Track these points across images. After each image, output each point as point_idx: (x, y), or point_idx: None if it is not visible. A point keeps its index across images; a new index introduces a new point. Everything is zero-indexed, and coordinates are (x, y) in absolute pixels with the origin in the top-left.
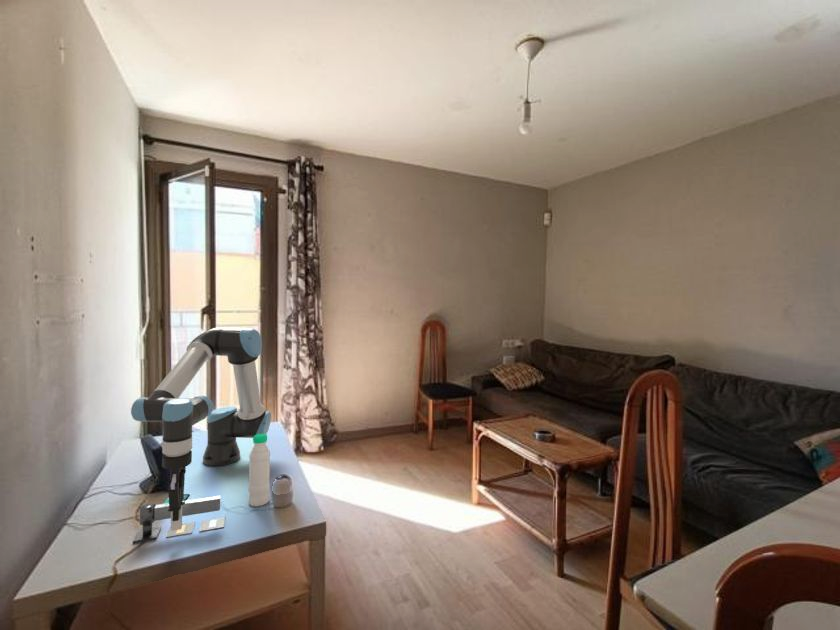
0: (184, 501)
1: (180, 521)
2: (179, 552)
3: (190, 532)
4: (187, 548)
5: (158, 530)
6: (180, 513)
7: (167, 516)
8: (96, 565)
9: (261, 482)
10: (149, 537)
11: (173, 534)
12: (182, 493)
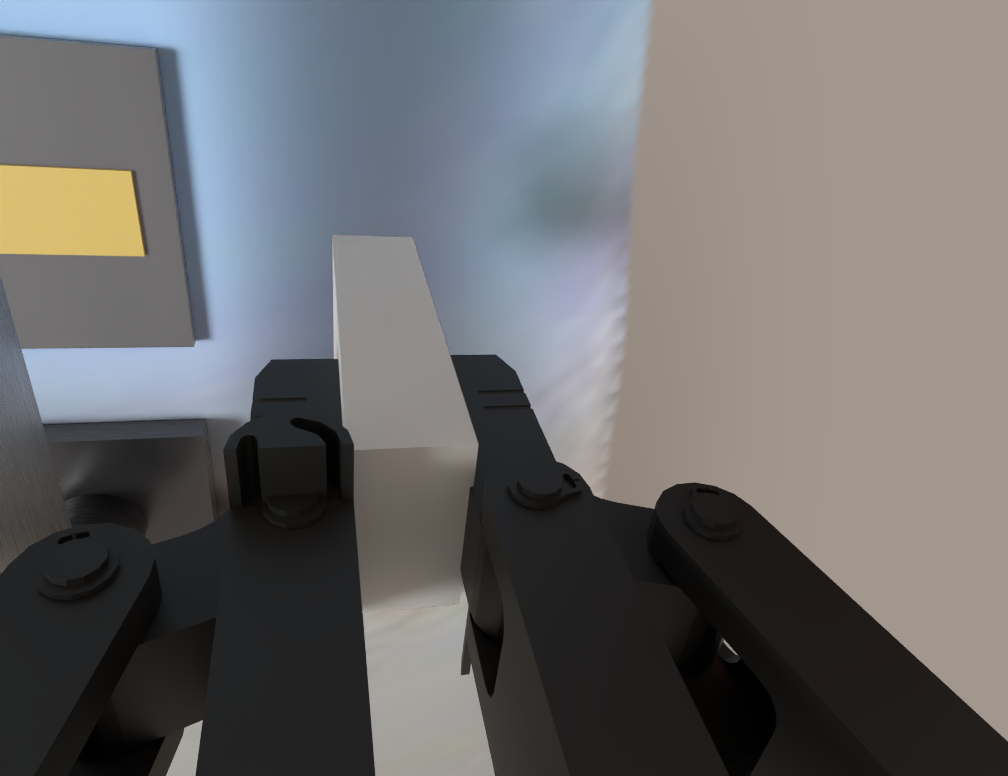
0: (226, 467)
1: (432, 303)
2: (546, 162)
3: (150, 73)
4: (507, 81)
5: (55, 449)
6: (457, 386)
7: (41, 491)
8: (441, 663)
9: None
10: (191, 490)
11: (155, 280)
12: (211, 769)
